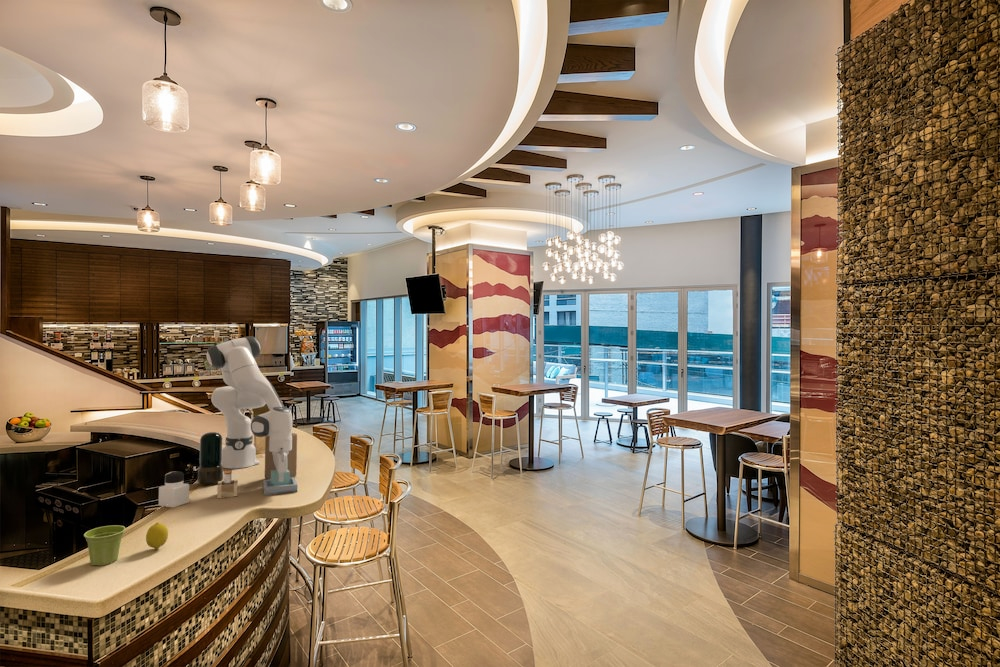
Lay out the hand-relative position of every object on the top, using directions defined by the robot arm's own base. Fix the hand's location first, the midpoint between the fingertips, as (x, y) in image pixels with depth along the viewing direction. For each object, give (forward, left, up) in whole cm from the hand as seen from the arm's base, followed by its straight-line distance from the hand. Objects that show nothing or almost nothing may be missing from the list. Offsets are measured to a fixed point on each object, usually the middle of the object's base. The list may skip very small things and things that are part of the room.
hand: (280, 479), depth 217 cm
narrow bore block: (0, 0, -2) cm, 2 cm away
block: (-19, +2, -5) cm, 20 cm away
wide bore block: (0, -19, -4) cm, 20 cm away
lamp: (-22, -26, -5) cm, 35 cm away
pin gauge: (0, -19, -4) cm, 20 cm away
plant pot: (+54, -49, -5) cm, 73 cm away
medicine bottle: (+4, -37, -5) cm, 38 cm away
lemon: (+50, -37, -5) cm, 63 cm away
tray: (0, 0, -4) cm, 4 cm away
